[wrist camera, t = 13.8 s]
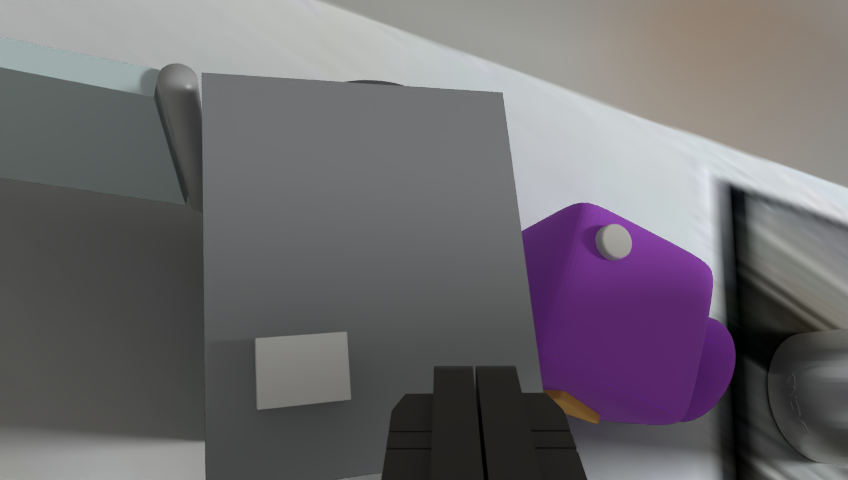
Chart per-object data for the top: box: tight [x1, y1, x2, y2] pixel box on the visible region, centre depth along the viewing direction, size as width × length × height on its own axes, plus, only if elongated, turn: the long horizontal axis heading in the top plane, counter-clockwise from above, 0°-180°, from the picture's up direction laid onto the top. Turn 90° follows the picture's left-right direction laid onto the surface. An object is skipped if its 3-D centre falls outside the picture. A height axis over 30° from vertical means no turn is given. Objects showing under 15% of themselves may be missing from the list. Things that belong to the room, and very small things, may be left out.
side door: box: [0, 37, 203, 212], centre depth 23 cm, size 2×13×13 cm, turn 86°
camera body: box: [202, 73, 543, 480], centre depth 25 cm, size 10×15×17 cm
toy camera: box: [522, 203, 736, 425], centre depth 32 cm, size 11×14×10 cm
